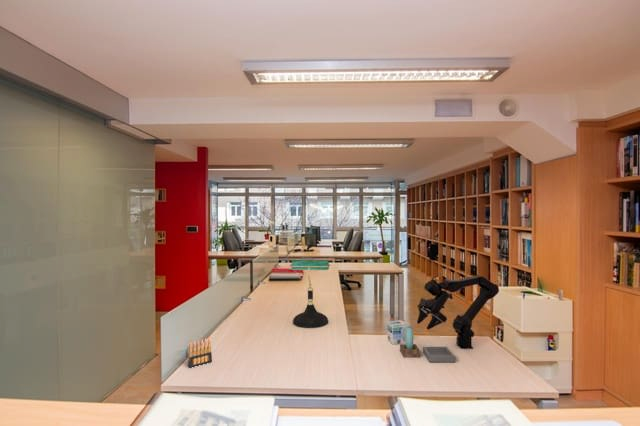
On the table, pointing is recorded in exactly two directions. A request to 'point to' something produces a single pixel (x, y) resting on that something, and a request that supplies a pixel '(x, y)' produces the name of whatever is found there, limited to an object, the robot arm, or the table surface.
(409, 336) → the dowel
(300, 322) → the banker's lamp
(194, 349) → the ammunition clip
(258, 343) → the table surface
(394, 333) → the light bulb box
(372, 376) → the table surface
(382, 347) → the table surface
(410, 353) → the socket block
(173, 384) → the table surface
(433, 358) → the tray
